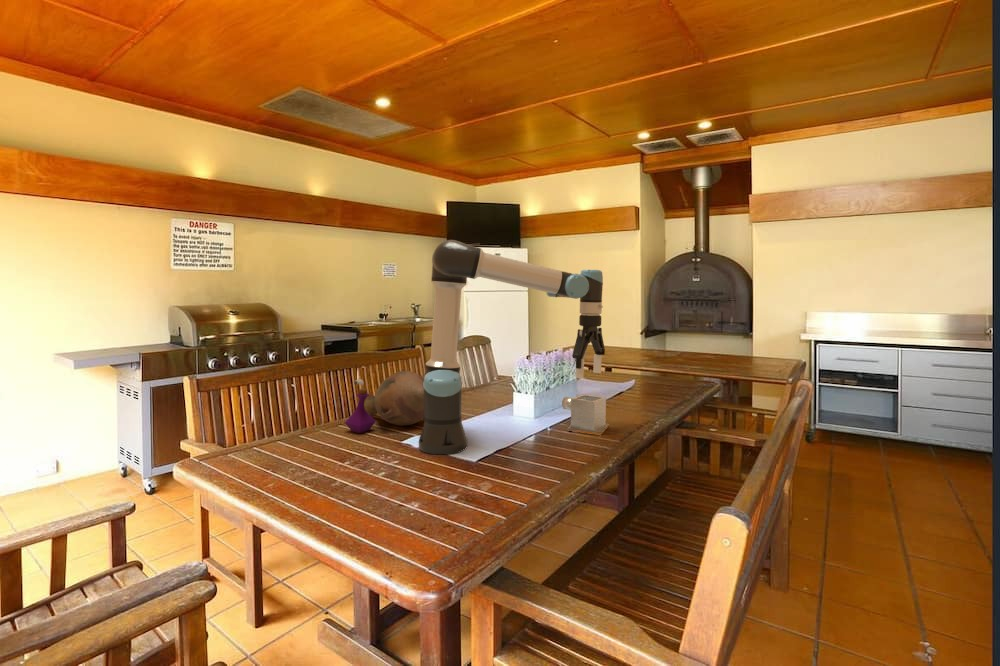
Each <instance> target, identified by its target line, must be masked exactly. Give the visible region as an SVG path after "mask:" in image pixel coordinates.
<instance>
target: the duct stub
mask: <svg viewBox="0 0 1000 666" xmlns="http://www.w3.org/2000/svg"><path fill="white" fill-rule="evenodd" d="M608 425H609V426H610V424H609V423H605V426H603V427H601V428H599V429H597V430H595V431H591V430H586V429H580V428H575V427H571V424H570V425H569V426H567V427H566V430H567V429H569V430H581V431H589V432H597V433H601V432H602V431H603V430H604V429H605V428H606V427H607V426H608Z"/></svg>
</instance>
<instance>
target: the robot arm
mask: <svg viewBox="0 0 1000 666" xmlns="http://www.w3.org/2000/svg"><path fill="white" fill-rule="evenodd" d="M431 263H432V264H431V265H432V266H431V278H430V279H431V283H432V284H433V286H434V287H435V290H434V292H435V293H434V304H433V305H434V307H433V320H432V332H431V333H432V336H431V350H430V359H428V361H427V362H425V368H424V369H425V371H424V377H423V379H424V382H423V387H424V418H423V420H424V421H423V422H424V423H423V427H422V429H421V432H420V436H419V438H418V449H419V450H420V451H421V452H423V453H426V454H430V455H431V454H432V455H451V453H452V454H457V453H460V452H462V451H461V450H463V449H465V448H466V447H467V448H468V438H467V434H466V432H465V428H464V425H463V420H462V419H463V418H462V417H463V414H462V397H463V396H462V395H463V394H462V390H463V389H462V387H463V381H462V375H461V364H460V363H459V362H458V361H457V355H458V354H457V352H458V340H459V327H460V313H461V299H462V289H463V288H464V287H466V286H467V281H468V279H472V280H475V279H477V278H482V279H488V280H493V281H496V282H499V283H500V282H501V283H505V284H510V285H514V286H517V287H518V286H519V287H523V288H527V289H530V290H536V291H541V292H545V293H546V295H547V297H550V298H551V297H552V298H570V299H574V300H575V299H577V300H578V299H579V314H580V315H579V321H578V323H579V324H578V325H579V326H581V327H582V329H577V336H576V340H575V343H574V348H573V351H572V355H571V356H572V359H574V360H575V373H574V375H575V378H577V379H585V378H584V376H585V375H584V373H585V372H584V371H585V358H584V355H585V353H586V351H587V348H588V346H589V345H590V344H591V346H592V348H593V351H594V353H595V354H593V369H592V370H593V372H592V373H595V374H596V373H597V374H601V373H602V357H603V356H605V355H606V354H605V353H606V349H605V344H604V343H605V342H604V339H603V337H604V336H603V332H602V330H603V329H602V327H601V326H602V315H601V314H602V308H603V307H604V306H603V285H604V280H603V279H604V277H603V271H602V270H599V269H582V270H581V271H580V274H579V273H571V272H567V271H562V270H559V269H554V268H550V267H545V266H542V265H538V264H534V263H529V262H525V261H522V260H521V261H520V260H518V259H513V258H508V257H503V256H500V255H495V254H491V253H487V252H485V251H484V250H483V248H480V247H476V246H473V245H470V244H467V243H464V242H461V241H459V240H455V239H448V240H444V241H443V242H441V243H439V244H438V245H437V246H436V248H435V249H434V252H433V254H432V259H431ZM467 278H468V279H467ZM467 448H466V449H467ZM466 449H465V450H466ZM459 451H460V452H459ZM463 451H464V450H463ZM456 452H457V453H456Z"/></svg>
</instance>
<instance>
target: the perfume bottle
mask: <svg viewBox="0 0 1000 666" xmlns="http://www.w3.org/2000/svg"><path fill="white" fill-rule="evenodd" d="M353 383H354V385H355V386H356V385H357V384H359V385H360V386H361V388H359V389H358V393H357V394H356V397H358V403H357V406H356V408H355V410H354V411H353V413H352V414H351V415H350V416H349V417H348V418H347V419H346V421H344V424H345V425H346V426H347V428H348V429H349V430H350V431H351V432H353V433H358V434H362V433H365V432H369V431H370V430H371V428H372V427H373V426H374V425H375V423H376V419H374V417H373V416H370V415H369V414H368V413H367V412H366V411H365V408H364V401H365V399H366V397H367V396H369V395H370V394H369V393H368V388H364V384H365V383H364V380H363V379H360V378H359V379H356V380H354V381H353Z"/></svg>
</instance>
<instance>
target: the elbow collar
mask: <svg viewBox="0 0 1000 666" xmlns="http://www.w3.org/2000/svg"><path fill="white" fill-rule="evenodd" d="M561 408H562V409H563V410H568V411H570V425H571V427H575V428H580V429H586V430H591V431H595V430H597V429H599V428H601V427H603V426H605V423H606V418H607V416H606V415H607V413H606V412H607V397H604V396H603V397H602V396H598V395H590V394H580V395H578V396H575V397H568V396H564V397H563V398H562V400H561ZM606 424H607V423H606Z"/></svg>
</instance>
